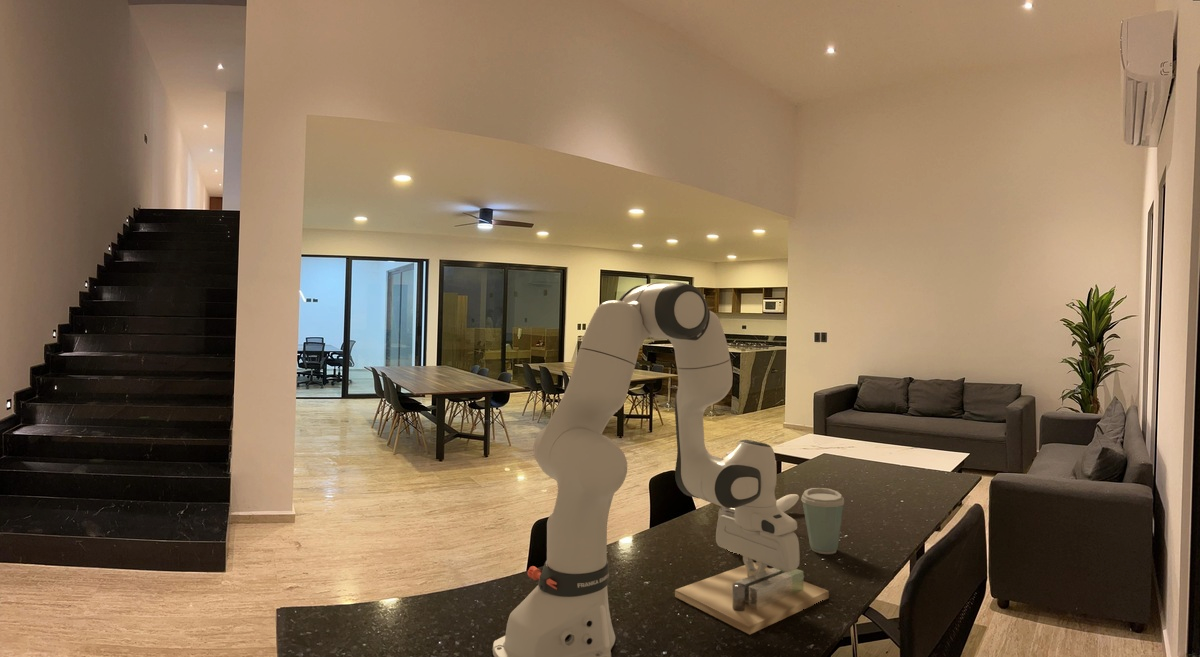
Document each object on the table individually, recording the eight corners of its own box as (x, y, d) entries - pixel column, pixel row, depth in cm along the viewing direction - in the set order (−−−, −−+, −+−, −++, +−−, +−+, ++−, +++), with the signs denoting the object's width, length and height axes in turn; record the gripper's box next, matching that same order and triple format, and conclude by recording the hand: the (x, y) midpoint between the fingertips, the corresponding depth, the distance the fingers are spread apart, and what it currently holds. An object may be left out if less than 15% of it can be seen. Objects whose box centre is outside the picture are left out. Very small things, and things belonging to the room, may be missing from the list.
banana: (799, 512, 190) (800, 465, 190) (764, 524, 178) (764, 474, 178) (786, 508, 194) (786, 462, 194) (750, 520, 181) (750, 471, 181)
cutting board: (749, 634, 114) (749, 626, 114) (674, 596, 130) (674, 589, 130) (828, 597, 129) (828, 590, 129) (753, 568, 145) (753, 561, 145)
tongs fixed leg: (756, 610, 120) (756, 589, 120) (748, 606, 122) (748, 586, 122) (803, 590, 130) (803, 571, 130) (795, 586, 131) (795, 568, 131)
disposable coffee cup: (848, 559, 151) (848, 499, 151) (803, 555, 153) (803, 496, 153) (840, 544, 162) (840, 488, 162) (798, 541, 164) (798, 485, 164)
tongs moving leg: (739, 612, 119) (739, 588, 119) (724, 605, 122) (725, 582, 122) (798, 587, 131) (798, 566, 131) (784, 581, 134) (784, 560, 134)
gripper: (709, 506, 138) (709, 566, 138) (785, 530, 122) (785, 599, 122) (728, 501, 142) (728, 560, 142) (804, 524, 125) (803, 591, 126)
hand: (755, 578), depth 132 cm, fingers closed
